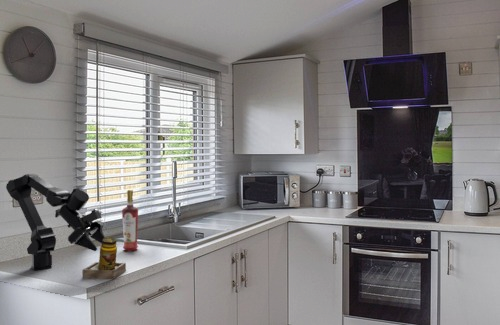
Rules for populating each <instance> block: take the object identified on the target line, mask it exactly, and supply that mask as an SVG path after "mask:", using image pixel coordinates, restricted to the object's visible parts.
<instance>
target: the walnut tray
mask: <svg viewBox="0 0 500 325" xmlns="http://www.w3.org/2000/svg"><path fill="white" fill-rule="evenodd" d="M98 263H99V261H95V262H93V263H91V264H90V265H89V266H86V267H84V268H83V269H81V270H82V279H100V280H101V279H103V280H115V279H116V278H117V277H119V276H121V275H122V274H123V273H124V272H126V271H127V270H126V269H127V267H126V266H127V265H126V264H127V263H126V262H116V265H115V266H117V268H115V269H114V270H92V269H90V268H92V267H94V266H95V265H97V264H98Z"/></svg>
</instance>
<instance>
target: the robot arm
mask: <svg viewBox="0 0 500 325" xmlns="http://www.w3.org/2000/svg"><path fill="white" fill-rule="evenodd" d="M5 189H6V191H7V192H8V194H9V195H10V197H11V198H12V199H14V200H16V201H17V203H18V205H19V207H20V208H21V211H22V213H23V216H24V218H25V220H26V222H27V224H28V227H29V228H30V231H31V234H30V241H31V242H30V244H28V247H27V248H26V250H27V254H28V255H31V266H30V267H31V268H32V270H33V271H38V270H39V271H40V270H45V269H47V270H48V269H52V268H53V267H52V266H53V255H52V254H51V252H54V251H55V247H56V244H57V238H56V236H57V235H56V234H55V232H54V230H53V228H52V227H46V226H45V224H44V223H43V220H42V218H41V216H40V213H39V211H38V209H37V207H36V205H35V203H34V201H33V198H32V197H31V195H32V194H31V193H32V191H33V189H34V190H35V191H36V192H38V193H40V194H41V195H42V196H44V197H45V201H46V202H47V203H48V204H49V205H50V207H52V208H55V207H60V208H58V209H56V210H55V211H54V212H55V216H54V217H55V218H58V217H61V218H62V219H63V220H64V221H65V222H66V223H67V228H71V229H72V230H73V231H72V232H71V233H70V234H69V235H68V237H67V241H68V243H70V244H71V245H72V244H74V245H77V246H80V247H83V248H85V249H88V250H91V251H93V252H96V251H97V250H98V248H97V246H96V245H95V243H94V242H93V241H92V239H93V240H95V241H97V242H98V243H100V244H102V239H104V238H106V237H105V235H104V232H103V227H104V222H103V221H102V220H101V219H102V211H100V209H98V208H95V209H92V210H91V212H90V213H88V214H85V213H81V212H80V211H81V209H83V207H84V206H85V205H86V204H87V202H88V201H89V200H90V196H89V194H88V193H86V192H85V191H84V190H82V189H80V188H79V187H76V188H75V187H74V188H73V190H72V191H71V192H69V191H68V190H66V189H64V188H60V187H59V188H58V187H55V186H53V185H52V184H50V183H49V182H47V181H46V180H44V179H42V178H41V177H39V175H38V174H37V173H28V174H26V173H25V174H24V175H22V176H20V177H17V178H14V179H10V180H8V181H7V183H6V185H5ZM91 238H92V239H91Z"/></svg>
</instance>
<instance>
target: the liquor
mask: <svg viewBox="0 0 500 325" xmlns="http://www.w3.org/2000/svg"><path fill="white" fill-rule="evenodd" d="M133 194H134V190H133V189H127V190H126V196H127V198H126V206H125V207H124V208H122V209H121V217H122V219H121V220H122V232H123V247H122V248H123V249H124V250H125V251H126V252H133V251H137V249H138V248H139V245H138V225H139V208H137V207H135V206H134V200H133Z"/></svg>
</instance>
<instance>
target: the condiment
mask: <svg viewBox="0 0 500 325" xmlns="http://www.w3.org/2000/svg"><path fill="white" fill-rule="evenodd" d="M117 242H118V241H117V239H116V238H114V237H105V238H104V239H102V243H101V245H100V248H99V259H98V262H99V263H98V264H97V265H95V266H94V267H92V268H90V269H92V270H114V269H115V268H117V266H115V265H116V263H117V262H116V261H117V253H118V247H117Z"/></svg>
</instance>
